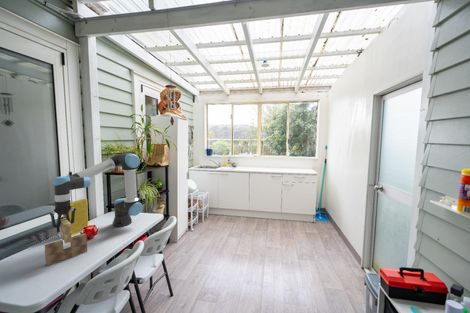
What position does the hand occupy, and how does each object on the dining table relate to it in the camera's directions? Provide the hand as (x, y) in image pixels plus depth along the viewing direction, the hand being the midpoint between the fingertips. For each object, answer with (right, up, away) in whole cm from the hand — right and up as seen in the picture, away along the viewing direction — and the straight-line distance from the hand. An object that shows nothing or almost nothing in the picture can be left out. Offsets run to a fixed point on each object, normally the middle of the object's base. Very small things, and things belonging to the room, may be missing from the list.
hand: (64, 235), depth 127 cm
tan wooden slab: (+3, -2, -2) cm, 4 cm away
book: (-19, -11, +34) cm, 40 cm away
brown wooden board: (+5, -13, -3) cm, 14 cm away
